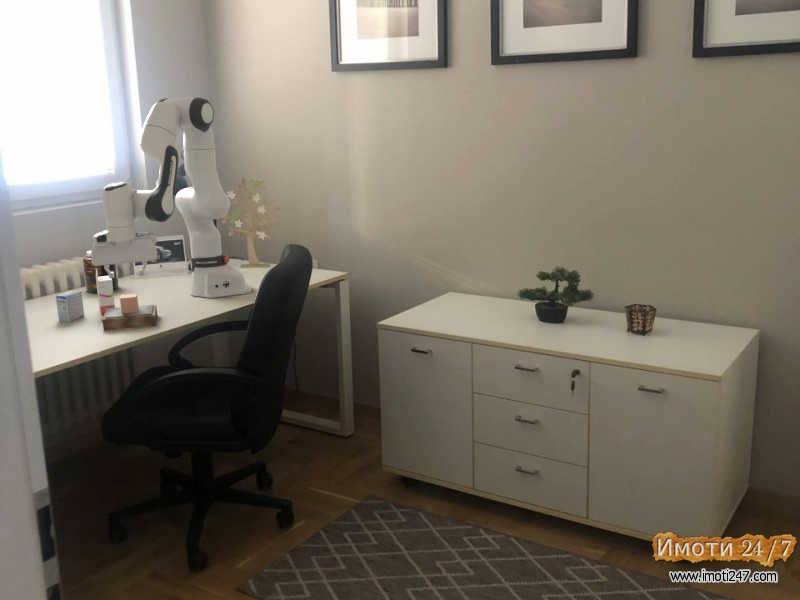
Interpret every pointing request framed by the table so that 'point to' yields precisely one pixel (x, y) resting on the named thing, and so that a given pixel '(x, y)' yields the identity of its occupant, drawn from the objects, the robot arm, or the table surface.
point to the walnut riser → (130, 318)
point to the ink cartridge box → (105, 293)
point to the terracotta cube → (129, 303)
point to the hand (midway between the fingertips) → (127, 276)
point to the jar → (91, 274)
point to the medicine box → (70, 306)
